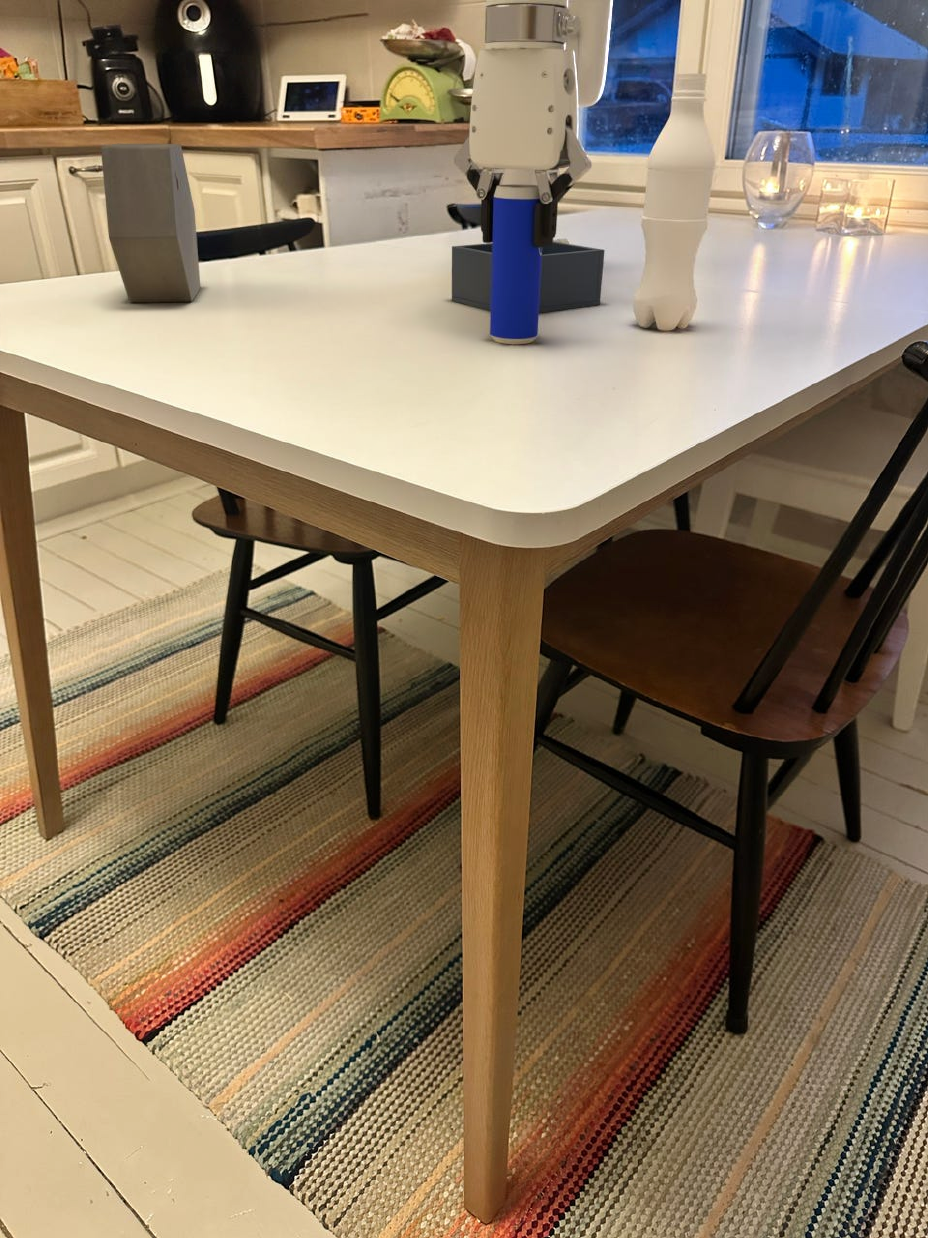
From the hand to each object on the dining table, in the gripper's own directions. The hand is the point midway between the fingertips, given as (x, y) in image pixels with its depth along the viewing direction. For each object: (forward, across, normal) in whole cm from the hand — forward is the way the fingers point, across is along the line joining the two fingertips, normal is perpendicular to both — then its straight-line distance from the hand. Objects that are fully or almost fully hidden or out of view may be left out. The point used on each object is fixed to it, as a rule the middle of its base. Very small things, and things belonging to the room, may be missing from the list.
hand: (517, 241), depth 91 cm
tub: (+10, +9, -20) cm, 24 cm away
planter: (+10, +50, +4) cm, 51 cm away
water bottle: (+10, -11, -16) cm, 22 cm away
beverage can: (+10, 0, 0) cm, 10 cm away
